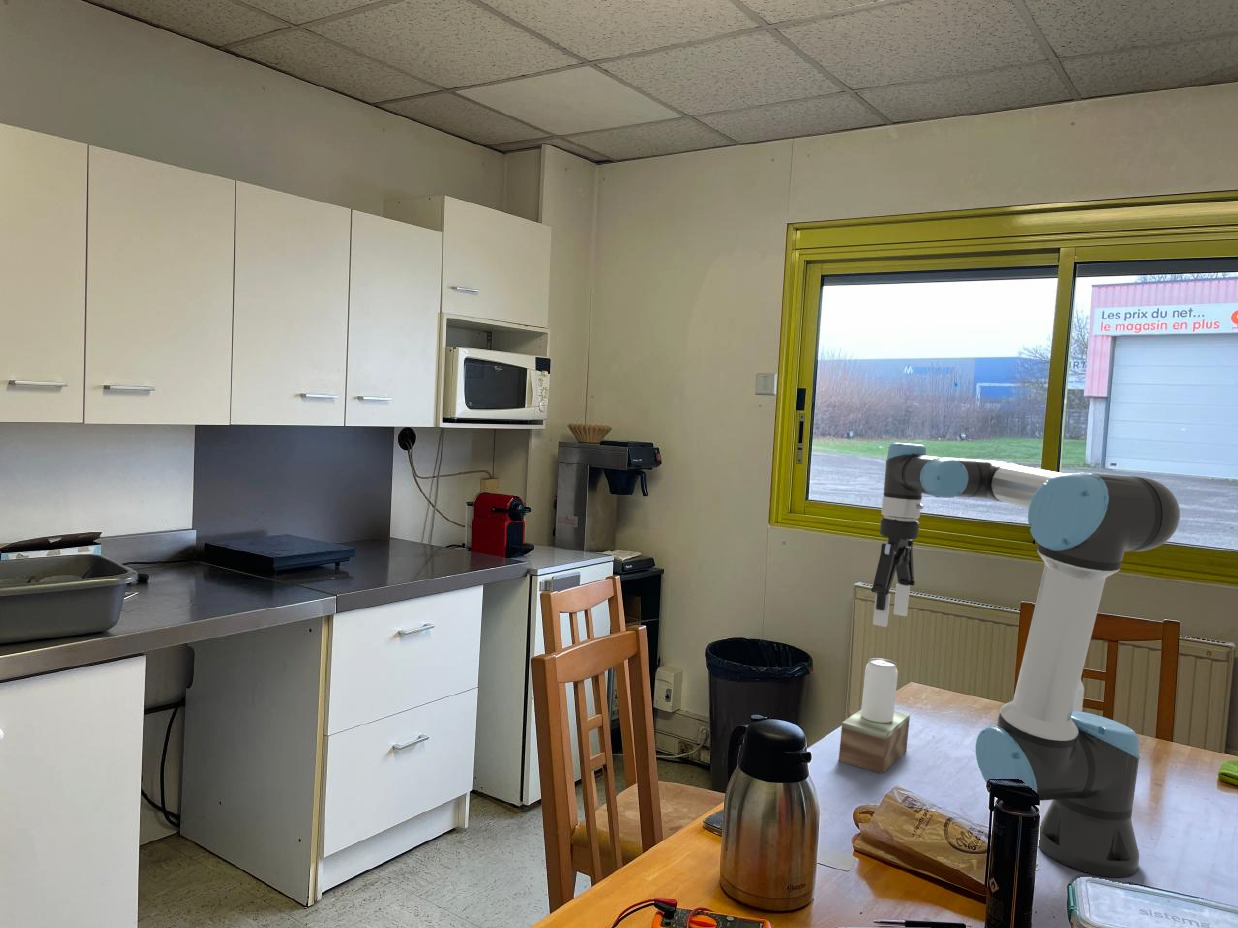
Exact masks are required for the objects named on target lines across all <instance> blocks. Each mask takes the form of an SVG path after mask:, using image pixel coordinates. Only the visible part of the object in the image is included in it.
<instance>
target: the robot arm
mask: <svg viewBox="0 0 1238 928" xmlns="http://www.w3.org/2000/svg"><path fill="white" fill-rule="evenodd" d="M886 455H887V456H886V459H885V471H884V473H885V474H884V482H883V483H884V484H883V496H882V505H881V511H880V512H881V513H880V514H881V515H882V516H883V517H881V519H880V527H879V528H880V529H879V534H880V535H881V536H882V537H885V538H888V540H887V543H882V544H881V549H880V556H879V559H878V562H877V563H878V564H877V568H876V571H875V575H874V576H875V577H874V580H873V584H872V587H871V590H870V591H871V593H875V596H874V597H875V599H874V609H873V617H872V618H873V619H872V625H875V626H878V627H879V626H880V627H884V628H887V627H888V623H889V614H890V613H889V611H890V601H891V594H890V591H891V587H892V584H893V582H894V577H895V574H896V577H897V583H896V585H895V592H894V593H895V594H894V603H893V604H894V605H893V615H896V616H902V617H907V616H908V612H909V611H908V610H909V600H910V591H911V590H910V589H911V586H912V587H913V586H915V585H916V581H915V572H914V554H913V552H914V551H913V549H914V540H916V539H918V537H919V527H920V522H919V521H918V520H919V518H920V515H921V510H923V509H924V504H921V503H922V497H923V495H922V494H925V495H929V496H933V497H935V498H942V499H943V498H945V499H951V498H952V499H953V498H957V497H958V498H959V497H960V498H978V499H989V500H993V501H997V502H1002V503H1007V504H1011V505H1015V506H1019V507H1023V508H1026V509H1028V512H1027V523H1028V525H1029V526H1031V528H1030V529H1029V531H1030V534H1031V536H1032V538H1033V540H1034V541H1035V542H1036V543H1038V544H1037V550H1036V552H1037V554H1038V556H1039V557H1040V558H1041V560H1042V561H1043V562H1044V567H1043V572H1042V576H1041V579H1040V583H1039V589H1038V592H1037V597H1036V602H1035V605H1034V610H1033V615H1032V618H1031V623H1030V627H1029V631H1028V636H1027V640H1026V643H1025V649H1024V652H1023V657H1022V661H1021V666H1020V669H1019V674H1018V678H1017V679H1018V680H1017V682H1016V687H1015V692H1014V695H1013V700H1011V701H1009V702H1007V703H1005V704H1003V705H1002V706H1001V707H1000V710H999V714H998V719H997V723H996V725H991V724H990V725H988V726H987V727H985V728H984V729H981V731H980V732H979V734H978V735H977V738H976V742H975V757H976V762H977V766H978V768H979V771H980V773H981V776H982V778H983V780H984V782H985V783H986V784H987V781H988V780H989V779H996V778H1005V779H1019V780H1022V781H1023V782H1024V783H1025V784H1026V785H1027V786H1029V787H1030V788H1032V790H1034V791H1035V792H1036V793H1037V794H1038V795H1039V797H1040V801H1051V800H1052V801H1051V803H1050V805H1049V807H1048V809H1047V810H1046V812H1045V814H1044V816H1043V818H1042V819H1041V822H1040V824H1041V826H1040V825H1039V826H1040V840H1039V846H1038V847H1039V849H1040V850H1041V851H1042V852H1043V853H1045V854H1046V855H1047V856H1048V857H1049V858H1051V859H1053V860H1055V861H1056V862H1059V863H1060V864H1063V865H1064V866H1067V867H1069V866H1070V867H1069V868H1071V867H1072V869H1074V868H1075V870H1077V869H1078V870H1077V871H1080V870H1081V871H1080V872H1083V871H1086V872H1085V873H1087V872H1088V873H1087V874H1091V873H1092V875H1096V876H1101V877H1102V876H1103V877H1108V878H1109V877H1110V878H1125V877H1129V876H1132V875H1135V874H1136V873H1137V872H1138V870H1139V862H1140V852H1139V848H1138V843H1137V839H1136V835H1135V830H1134V827H1133V822H1132V814H1133V808H1134V807H1133V806H1134V800H1135V794H1136V793H1135V792H1136V784H1137V778H1138V770H1139V769H1138V768H1139V763H1140V762H1139V761H1140V758H1141V755H1140V743H1141V741H1140V737H1139V736H1138V733H1137V731H1136V732H1135V730H1133V728H1131V727H1128V726H1127V725H1124V724H1122V723H1120V722H1118V721H1116V720H1113V719H1110V718H1107V717H1105V716H1100V715H1098V714H1094V713H1090V712H1084V711H1082V712H1080V711H1073V708H1074V703H1075V699H1076V695H1077V691H1078V687H1079V683H1080V679H1081V680H1082V674H1083V671H1084V668H1085V667H1084V666H1085V662H1086V658H1087V655H1088V651H1089V648H1090V647H1089V646H1090V643H1091V639H1092V635H1093V631H1094V627H1095V623H1096V619H1097V615H1098V610H1099V608H1100V607H1099V606H1100V602H1101V599H1102V595H1103V590H1104V587H1105V583H1106V579H1107V578H1108V577H1110V576H1112V575H1114V574H1115V573H1117V572H1119V571H1120V570H1121V566H1122V564H1123V563H1122V562H1123V558H1124V555H1125V552H1145V551H1149V550H1153V549H1155V548H1158V547H1160V546H1162V545H1164V544H1165V543H1166V542H1167V541H1168V540H1170V539H1171V538H1172V537H1173V535H1174V534H1175V533H1176V531H1177V529H1178V527H1179V524H1180V519H1181V511H1180V510H1181V509H1180V505H1179V503H1178V500H1177V498H1176V496H1175V495H1174V493H1173V492H1172V491H1171V489H1169V488H1168V487H1167V486H1166V485H1164V484H1162V483H1161V482H1159V481H1157V480H1154V479H1152V478H1149V477H1144V476H1134V475H1133V476H1132V475H1131V476H1127V475H1126V476H1125V475H1115V474H1104V473H1103V474H1102V473H1090V472H1086V471H1082V472H1075V473H1074V472H1073V473H1071V472H1070V473H1063V472H1060V471H1059V472H1058V471H1053V470H1052V471H1051V470H1047V469H1042V468H1041V469H1040V468H1038V467H1037V468H1035V467H1030V466H1024V465H1019V464H1017V463H1015V462H1011V461H1007V460H1001V459H1000V460H988V459H987V460H986V459H971V458H957V457H943V456H930V455H927V448H926V446H925V445H924V444H918V443H904V442H903V443H902V442H893V443H890V444H889V446H888V451H887V454H886ZM1040 801H1039V802H1040Z"/></svg>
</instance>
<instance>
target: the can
mask: <svg viewBox="0 0 1238 928" xmlns="http://www.w3.org/2000/svg"><path fill="white" fill-rule="evenodd" d="M898 672H899V671H898V670H897V662H894V661H892V660H889V659H886V658H877V657H876V658H875V657H874V658H869V659H868V663H867V664H866V665H865V671H864V680H863V690H862V691H863V692H862V701H861V709H860V710H861V715H862V717H863V718H864V719H865V720H867V721H870V722H874V723H880V724H887V723H890V722H891V721H892V720H893V715H894V711H895V706H896V705H895V704H896V694H897V684H898V674H899V673H898Z"/></svg>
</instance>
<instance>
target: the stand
mask: <svg viewBox="0 0 1238 928" xmlns="http://www.w3.org/2000/svg"><path fill="white" fill-rule="evenodd" d="M910 720H911V714H909V713H904V712H900V711H897V710H894V715H893V720H892V721H891V722H890V723H887V724H880V723H874V722H870V721H867V720H865V719H864V718H863V717H862V715H861V709H860V710H858V711H857V712H856V713H853V714H852V715H851V716H849V717H848V718H846V719H844V721H842V722H841V731H840V742H839V743H840V744H839V753H838V761H839V762H842V763H845V764H848V765H852V766H855V767H859V768H862V769H865V770H868V771H872V772H876V773H878V774H884V772H886V770H888V769H889V768H890V767H891V766H892V765H893V764H895V762H897V761H898V760H899V759H900V758H901V757H902V756H903V755H904V754H905V753H907V750H908V749H907V748H908V740H909V727H910Z"/></svg>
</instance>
